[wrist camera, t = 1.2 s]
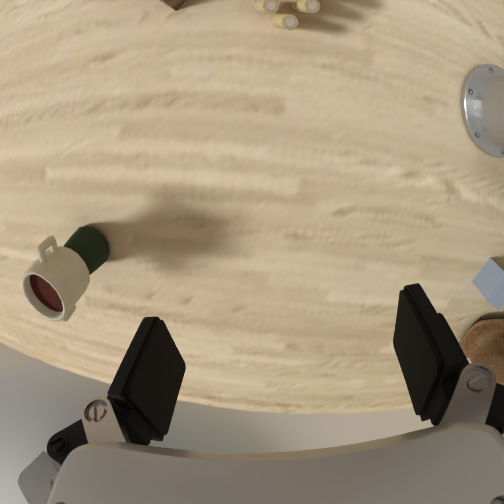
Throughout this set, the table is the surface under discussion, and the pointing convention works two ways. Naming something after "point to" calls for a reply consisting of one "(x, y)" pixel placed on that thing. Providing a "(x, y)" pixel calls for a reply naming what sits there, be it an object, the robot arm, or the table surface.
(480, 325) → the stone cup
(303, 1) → the ammunition
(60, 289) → the character mug
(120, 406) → the robot arm
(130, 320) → the table surface
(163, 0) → the walnut block
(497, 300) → the slate cube
